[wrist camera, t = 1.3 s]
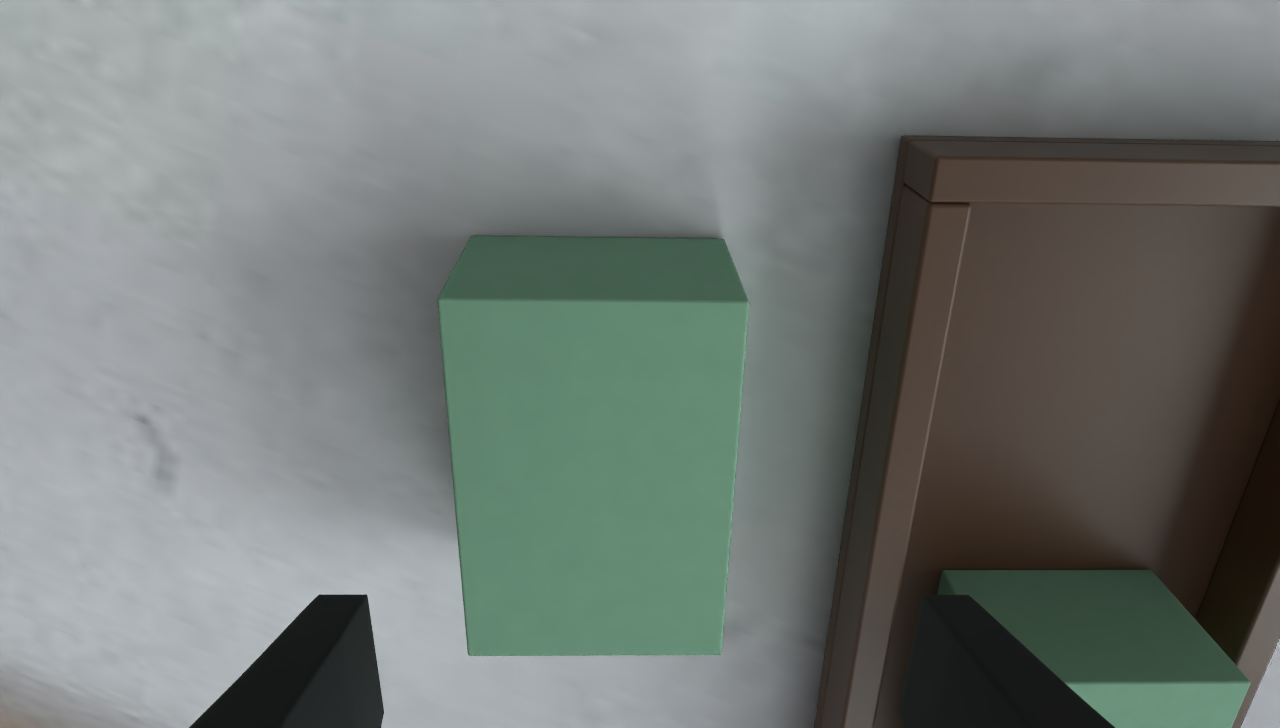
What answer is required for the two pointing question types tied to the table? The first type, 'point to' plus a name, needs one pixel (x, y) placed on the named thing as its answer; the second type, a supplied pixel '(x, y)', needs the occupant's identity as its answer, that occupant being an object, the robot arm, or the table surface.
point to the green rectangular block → (593, 441)
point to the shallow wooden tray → (1066, 391)
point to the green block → (1113, 642)
